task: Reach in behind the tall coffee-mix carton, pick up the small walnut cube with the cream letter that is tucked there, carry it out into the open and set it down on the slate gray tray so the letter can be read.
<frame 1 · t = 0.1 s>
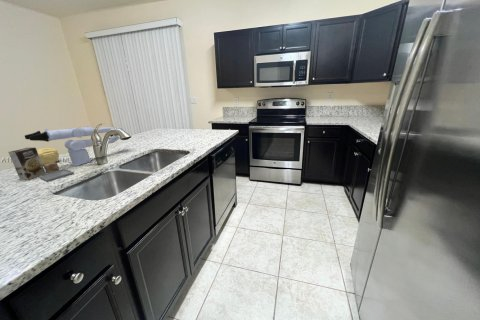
hand: (27, 137, 111), 22 cm above the counter, tool horizontal, fingers open, 7 cm apart
tan lumpy round piece: (49, 163, 137), on the counter
slate gray tray: (57, 175, 114), on the counter
coffee box: (33, 177, 115), on the counter
letter cube: (53, 171, 121), on the counter
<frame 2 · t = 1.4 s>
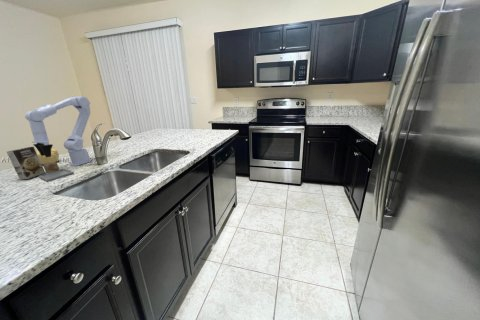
hand: (46, 156, 117), 10 cm above the counter, tool pointing down, fingers open, 7 cm apart
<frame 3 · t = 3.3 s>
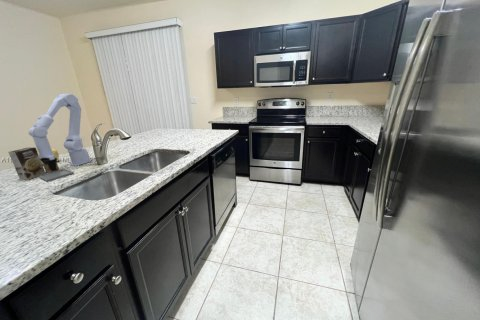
hand: (52, 169, 120), 1 cm above the counter, tool pointing down, fingers closed on letter cube, 5 cm apart
letter cube: (53, 171, 121), on the counter, touching gripper
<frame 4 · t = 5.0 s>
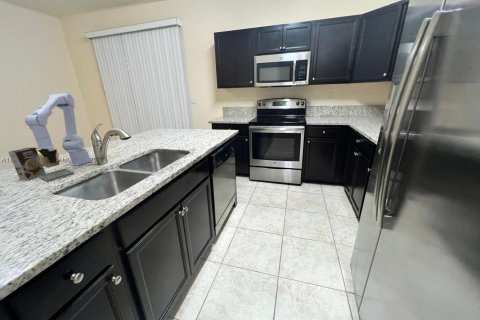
hand: (51, 161, 111), 8 cm above the counter, tool pointing down, fingers closed on letter cube, 5 cm apart
letter cube: (52, 165, 112), point 6 cm above the counter, touching gripper
everything else where it was.
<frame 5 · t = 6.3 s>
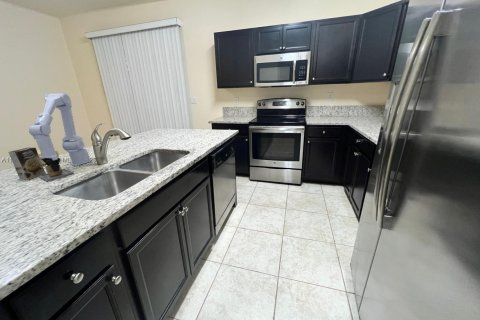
hand: (55, 170, 113), 3 cm above the counter, tool pointing down, fingers closed on letter cube, 5 cm apart
letter cube: (55, 174, 113), point 1 cm above the counter, touching gripper
everything else where it was.
when the fingers open (3 cm above the counter, at t = 6.9 s): letter cube stays where it is, resting on slate gray tray.
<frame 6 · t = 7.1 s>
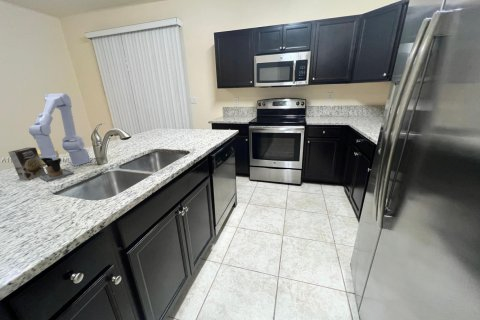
hand: (55, 170, 113), 3 cm above the counter, tool pointing down, fingers open, 7 cm apart
letter cube: (55, 174, 114), point 1 cm above the counter, touching slate gray tray
everything else where it was.
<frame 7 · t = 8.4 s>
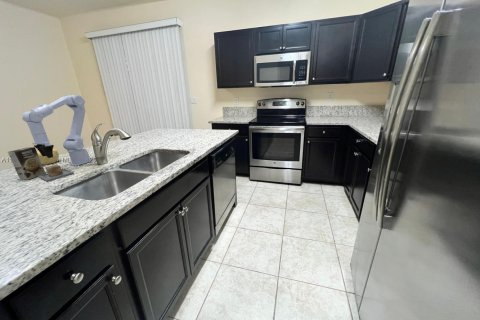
hand: (47, 156, 116), 10 cm above the counter, tool pointing down, fingers open, 7 cm apart
nothing on the counter moved.
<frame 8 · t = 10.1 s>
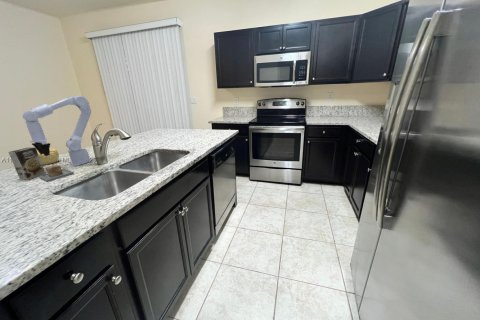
hand: (45, 154, 120), 10 cm above the counter, tool pointing down, fingers open, 7 cm apart
nothing on the counter moved.
at the end: letter cube inside the target area on the slate gray tray (0.3 cm from its centre), point 0.8 cm above the slate gray tray's base; letter cube tilted 0°; the gripper is holding nothing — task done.
